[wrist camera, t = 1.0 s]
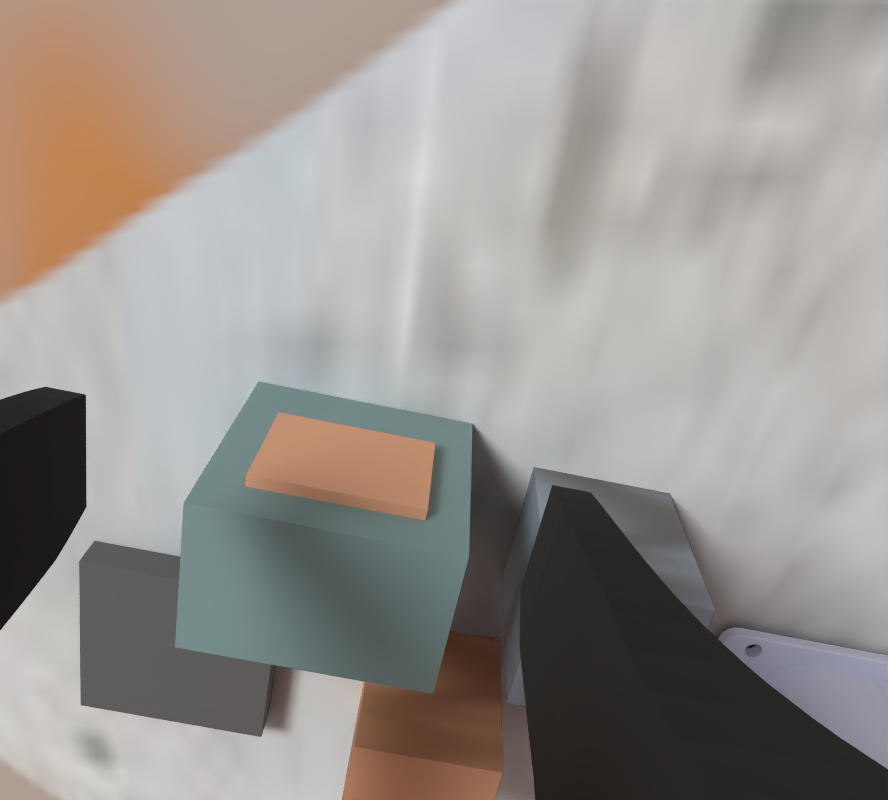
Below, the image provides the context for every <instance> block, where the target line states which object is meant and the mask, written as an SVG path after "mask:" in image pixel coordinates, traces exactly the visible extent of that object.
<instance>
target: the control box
mask: <svg viewBox="0 0 888 800" xmlns="http://www.w3.org/2000/svg"><path fill="white" fill-rule="evenodd" d="M472 427H473V424H470V423H465V422H460V421H455V420H450V419H444V418H439V417H434V416H429V415H424V414H419V413H414V412H409V411H404V410H399V409H394V408H389V407H384V406H378V405H373V404H368V403H363V402H358V401H353V400H348V399H343V398H338V397H333V396H328V395H323V394H318V393H312V392H307V391H302V390H297V389H292V388H287V387H282V386H277V385H272V384H267V383H262V382H258V384H257V385H256V387H255V388H254V390H253V392H252V393H251V395H250V397H249V398H248V400H247V401H246V403H245V405H244V406H243V408H242V409H241V411H240V413H239V414H238V416H237V418H236V419H235V421H234V422H233V424H232V426H231V427H230V429H229V431H228V432H227V434H226V435H225V437H224V439H223V440H222V442H221V443H220V445H219V447H218V448H217V450H216V452H215V453H214V455H213V456H212V458H211V460H210V461H209V463H208V465H207V466H206V468H205V469H204V471H203V473H202V474H201V476H200V477H199V479H198V481H197V482H196V484H195V486H194V487H193V489H192V490H191V492H190V494H189V495H188V497H187V499H186V500H185V502H184V507H183V523H182V540H181V556H180V573H179V589H178V605H177V622H176V638H175V647H177V648H182V649H188V650H193V651H199V652H204V653H210V654H215V655H221V656H226V657H232V658H237V659H243V660H248V661H254V662H260V663H265V664H271V665H276V666H282V667H287V668H293V669H298V670H304V671H309V672H315V673H320V674H326V675H332V676H337V677H343V678H348V679H354V680H359V681H365V682H370V683H376V684H381V685H387V686H392V687H398V688H403V689H409V690H415V691H420V692H426V693H431V694H433V692H434V688H435V685H436V681H437V677H438V673H439V669H440V666H441V662H442V658H443V654H444V650H445V647H446V643H447V639H448V635H449V631H450V628H451V624H452V620H453V616H454V612H455V609H456V605H457V601H458V597H459V593H460V589H461V586H462V582H463V578H464V574H465V570H466V567H467V563H468V559H469V540H470V502H471V465H472Z"/></svg>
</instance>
